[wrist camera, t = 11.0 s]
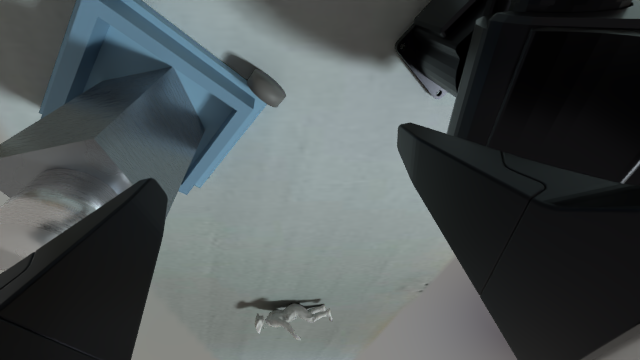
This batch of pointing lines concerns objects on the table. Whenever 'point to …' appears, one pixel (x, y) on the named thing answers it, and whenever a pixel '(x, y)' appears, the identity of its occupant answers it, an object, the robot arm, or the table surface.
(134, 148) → the square bottle with cap
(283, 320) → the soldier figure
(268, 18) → the table surface
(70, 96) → the chassis
